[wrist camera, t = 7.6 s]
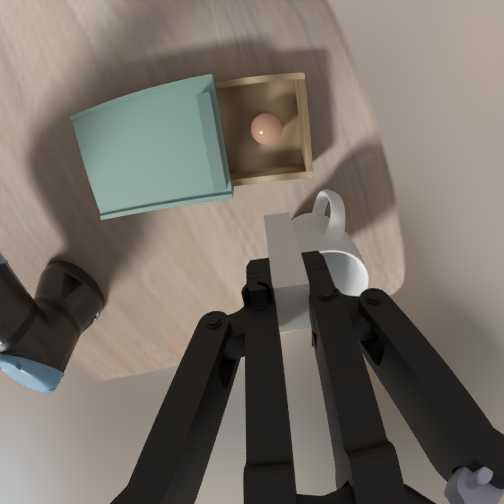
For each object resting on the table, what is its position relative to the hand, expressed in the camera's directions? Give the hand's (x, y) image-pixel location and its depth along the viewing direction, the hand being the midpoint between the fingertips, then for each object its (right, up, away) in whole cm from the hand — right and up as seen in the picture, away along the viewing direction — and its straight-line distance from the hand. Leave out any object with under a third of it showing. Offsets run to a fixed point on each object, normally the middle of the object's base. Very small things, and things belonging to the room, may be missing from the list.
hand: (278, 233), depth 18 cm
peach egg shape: (0, +15, +17) cm, 22 cm away
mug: (+7, +3, +26) cm, 27 cm away
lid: (-14, +12, +16) cm, 24 cm away
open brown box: (-4, +15, +18) cm, 23 cm away
